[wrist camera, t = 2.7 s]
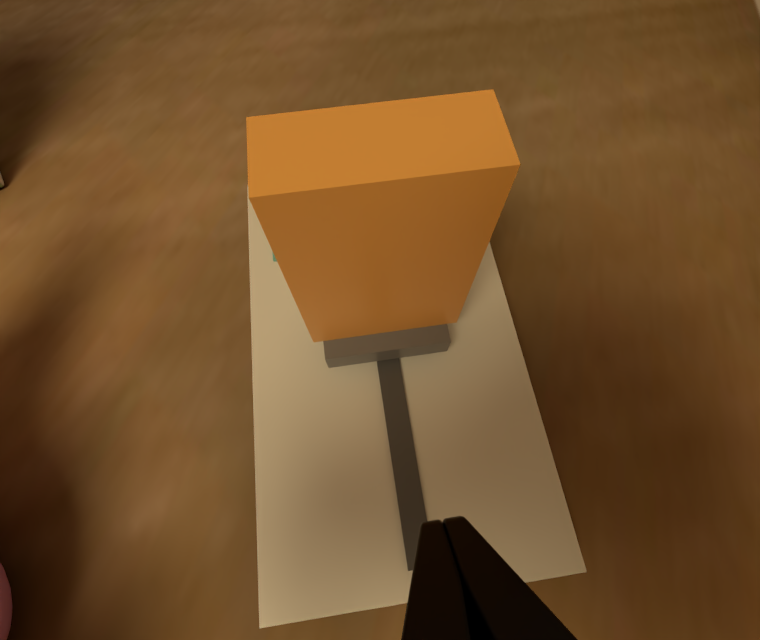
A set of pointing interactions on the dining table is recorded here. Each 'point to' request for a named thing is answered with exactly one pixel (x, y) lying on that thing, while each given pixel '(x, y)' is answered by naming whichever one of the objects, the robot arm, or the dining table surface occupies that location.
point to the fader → (381, 215)
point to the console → (392, 454)
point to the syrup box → (1, 181)
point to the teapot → (5, 605)
